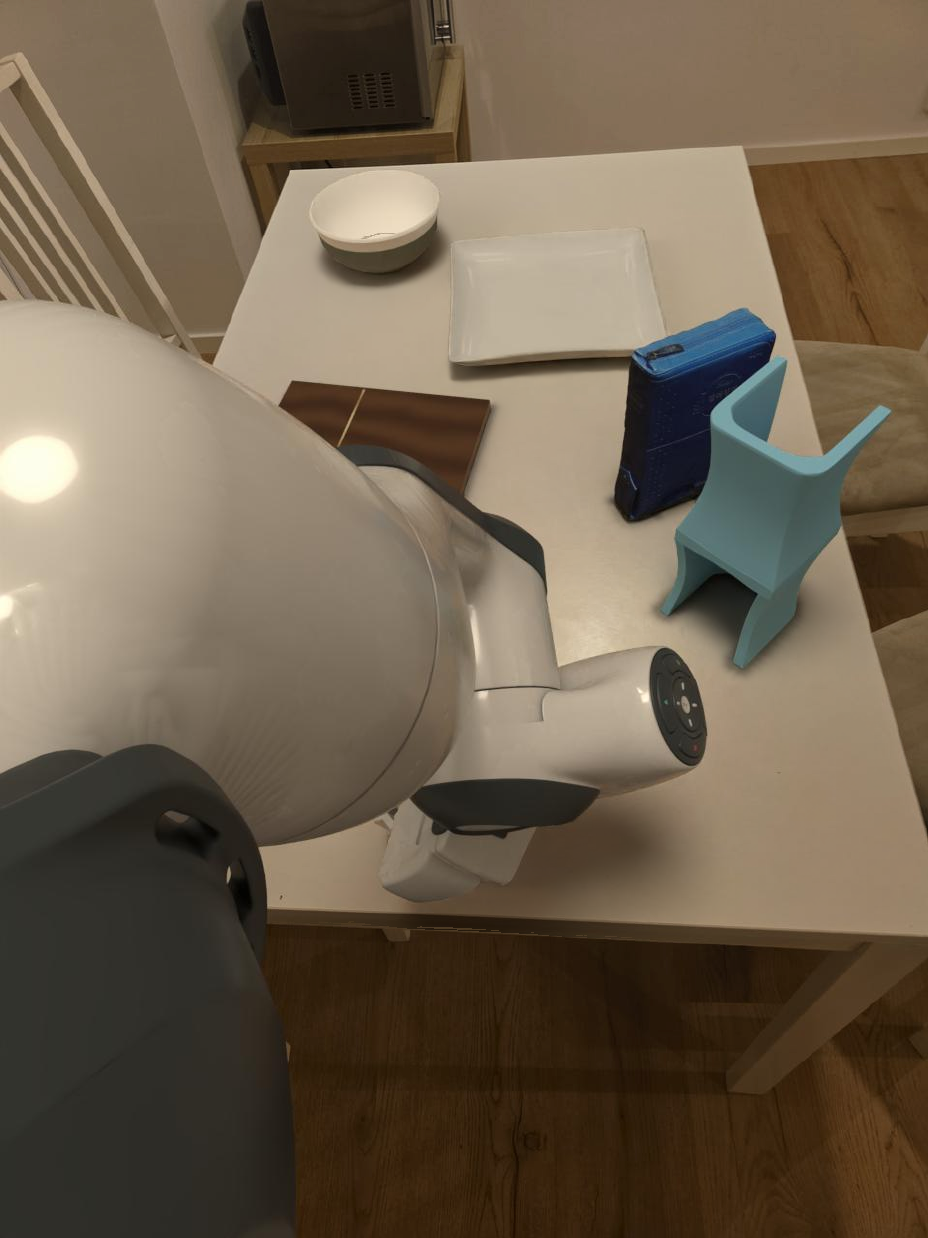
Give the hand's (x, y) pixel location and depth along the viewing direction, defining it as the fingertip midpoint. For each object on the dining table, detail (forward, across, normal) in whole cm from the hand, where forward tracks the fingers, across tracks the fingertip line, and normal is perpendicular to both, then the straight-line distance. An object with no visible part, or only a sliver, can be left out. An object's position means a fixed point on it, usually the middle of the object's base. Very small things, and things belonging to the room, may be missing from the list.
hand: (394, 779), depth 68 cm
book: (-10, -41, +17) cm, 45 cm away
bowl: (+22, -81, -15) cm, 85 cm away
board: (+15, -30, -8) cm, 34 cm away
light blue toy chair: (-15, -26, +22) cm, 37 cm away
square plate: (+3, -71, +4) cm, 71 cm away
